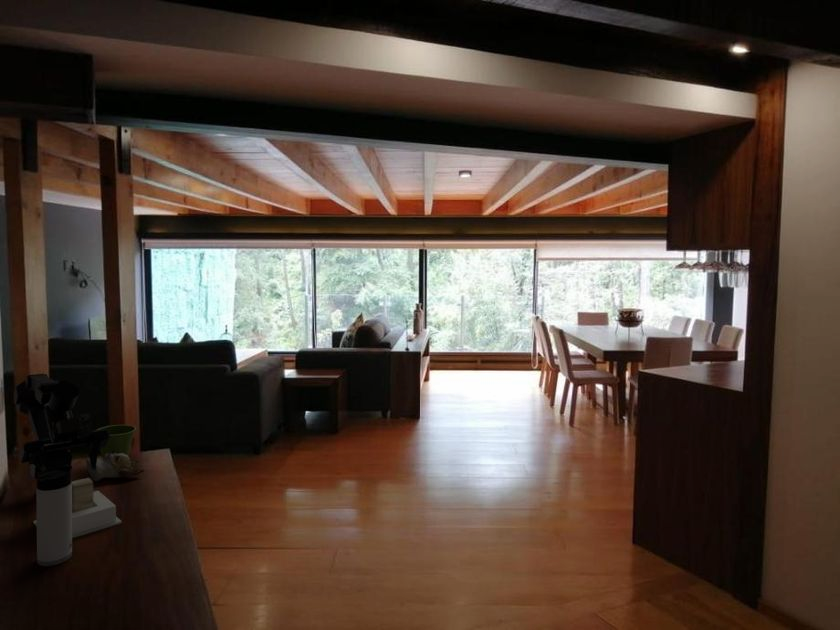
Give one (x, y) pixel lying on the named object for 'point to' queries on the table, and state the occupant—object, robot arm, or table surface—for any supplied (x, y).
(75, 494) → the birch peg
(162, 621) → the table surface
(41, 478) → the travel mug
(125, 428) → the plant pot
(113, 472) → the ceramic sculpture
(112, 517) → the socket block
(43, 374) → the robot arm
